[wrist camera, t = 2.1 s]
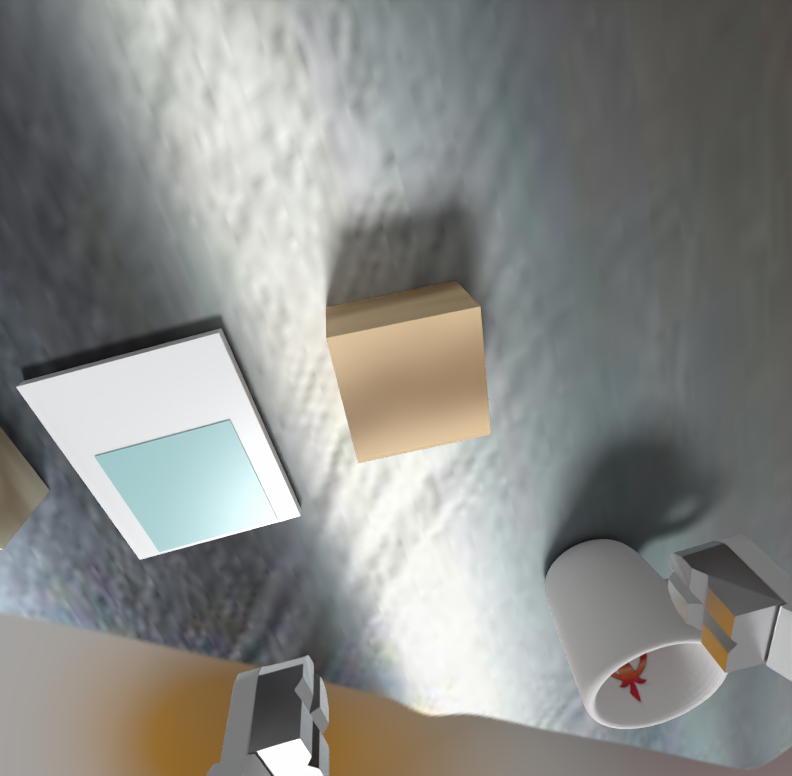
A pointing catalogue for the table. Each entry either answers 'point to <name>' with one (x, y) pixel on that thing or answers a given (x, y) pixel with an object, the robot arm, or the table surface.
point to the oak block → (410, 369)
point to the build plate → (167, 443)
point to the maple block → (16, 489)
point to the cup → (626, 637)
